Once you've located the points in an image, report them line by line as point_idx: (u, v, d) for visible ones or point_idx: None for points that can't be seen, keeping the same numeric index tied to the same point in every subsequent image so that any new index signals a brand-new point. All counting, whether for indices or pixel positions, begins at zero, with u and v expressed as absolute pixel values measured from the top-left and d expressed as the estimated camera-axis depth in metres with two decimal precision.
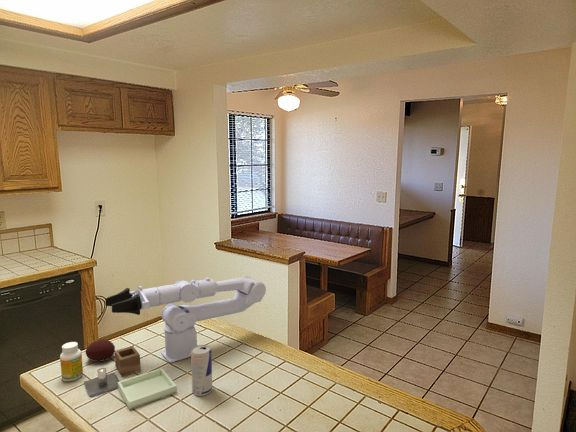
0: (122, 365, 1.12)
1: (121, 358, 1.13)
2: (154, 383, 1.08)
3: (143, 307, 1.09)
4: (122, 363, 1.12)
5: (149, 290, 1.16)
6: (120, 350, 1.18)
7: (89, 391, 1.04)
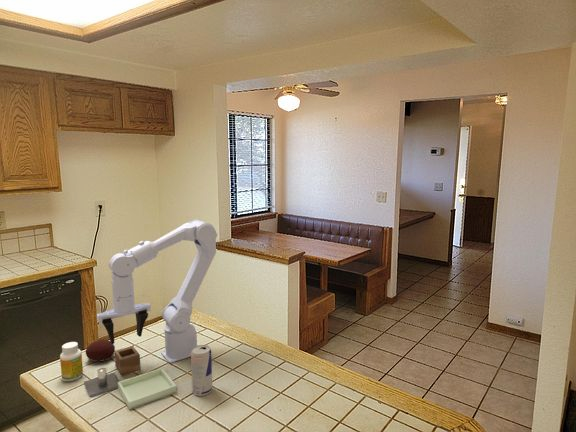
0: (122, 365, 1.12)
1: (121, 358, 1.13)
2: (154, 383, 1.08)
3: (98, 321, 1.10)
4: (122, 363, 1.12)
5: None
6: (120, 350, 1.18)
7: (89, 391, 1.04)
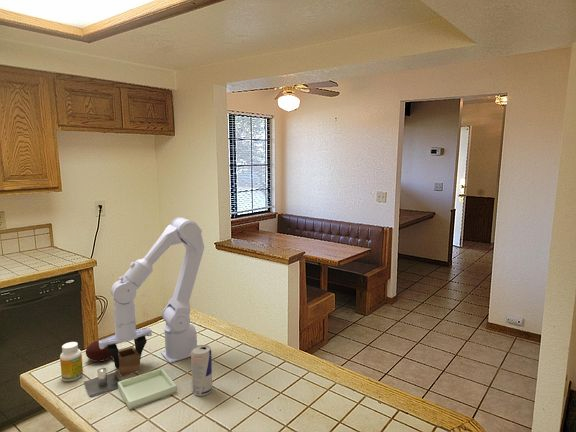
0: (122, 365, 1.12)
1: (121, 358, 1.13)
2: (154, 383, 1.08)
3: (100, 347, 1.11)
4: (122, 363, 1.12)
5: None
6: (120, 350, 1.18)
7: (89, 391, 1.04)
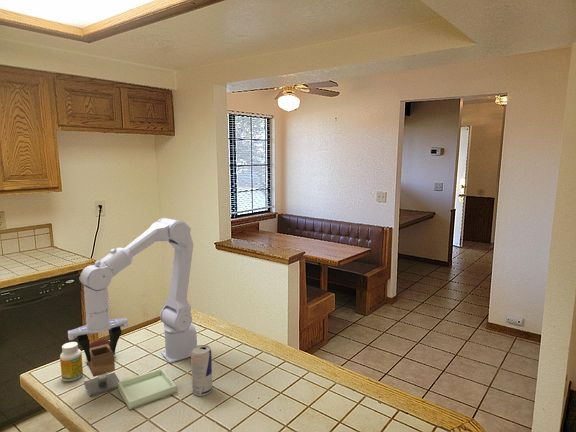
0: (94, 364, 1.03)
1: (93, 357, 1.04)
2: (154, 383, 1.08)
3: (69, 338, 1.01)
4: (94, 362, 1.03)
5: None
6: (93, 348, 1.08)
7: (89, 391, 1.04)
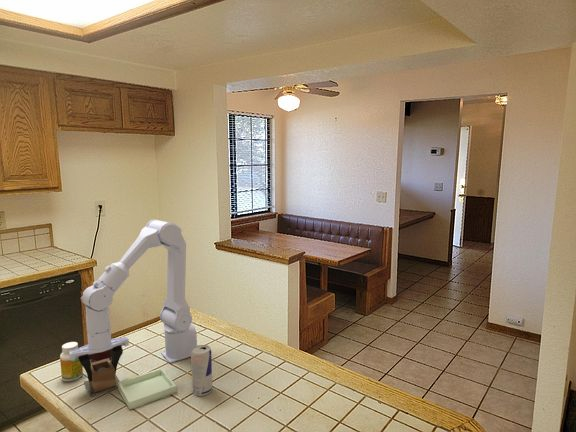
0: (95, 380, 1.04)
1: (94, 372, 1.04)
2: (154, 383, 1.08)
3: (71, 359, 1.02)
4: (95, 378, 1.04)
5: None
6: (94, 363, 1.09)
7: (89, 391, 1.04)
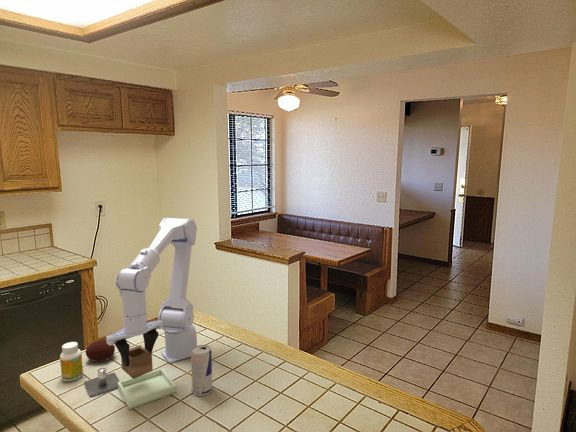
0: (133, 366, 1.01)
1: (132, 358, 1.02)
2: (154, 383, 1.08)
3: (109, 344, 0.99)
4: (133, 364, 1.01)
5: None
6: None
7: (89, 391, 1.04)
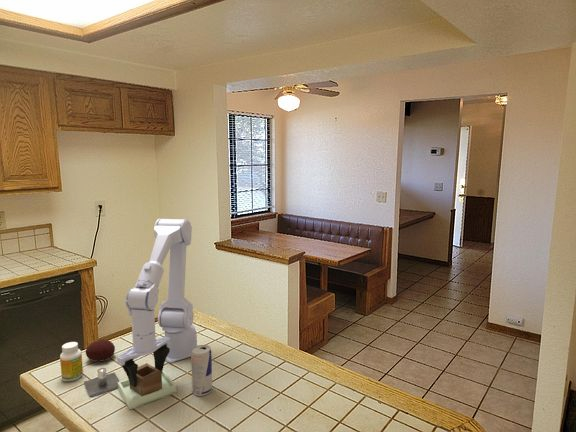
0: (145, 385, 1.01)
1: (143, 378, 1.02)
2: None
3: (120, 364, 0.98)
4: (145, 383, 1.01)
5: None
6: None
7: (89, 391, 1.04)
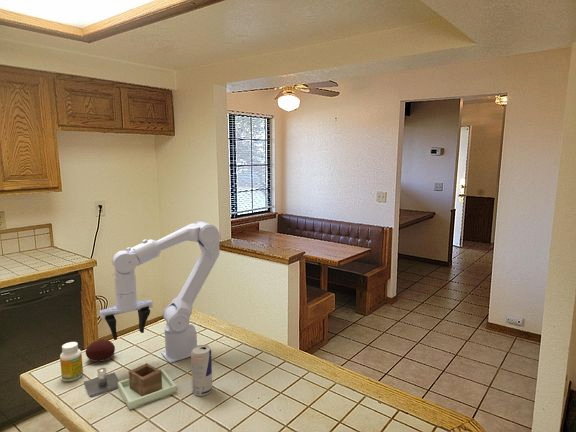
0: (145, 385, 1.01)
1: (143, 378, 1.02)
2: None
3: (101, 317, 1.11)
4: (145, 383, 1.01)
5: None
6: (135, 369, 1.06)
7: (89, 391, 1.04)
